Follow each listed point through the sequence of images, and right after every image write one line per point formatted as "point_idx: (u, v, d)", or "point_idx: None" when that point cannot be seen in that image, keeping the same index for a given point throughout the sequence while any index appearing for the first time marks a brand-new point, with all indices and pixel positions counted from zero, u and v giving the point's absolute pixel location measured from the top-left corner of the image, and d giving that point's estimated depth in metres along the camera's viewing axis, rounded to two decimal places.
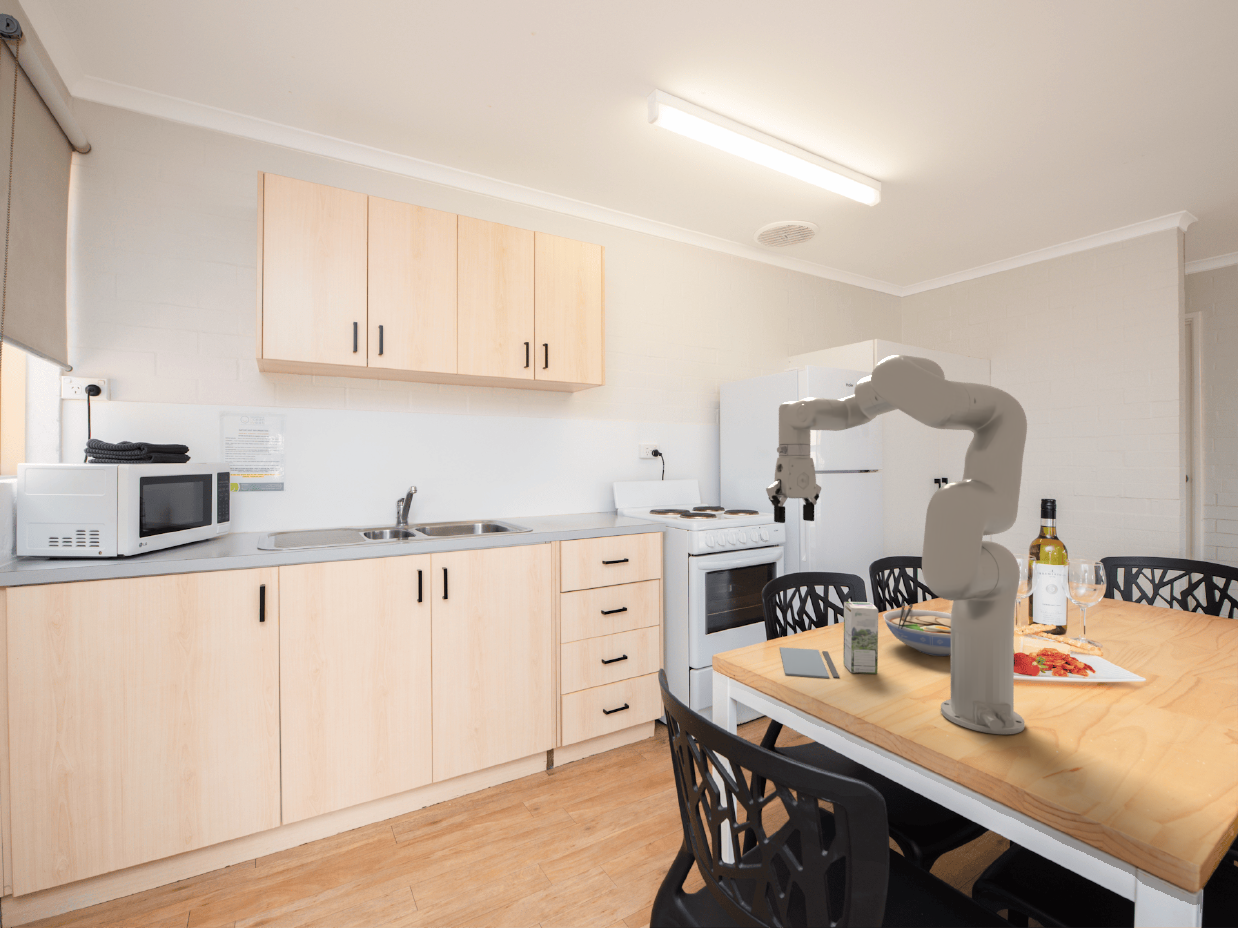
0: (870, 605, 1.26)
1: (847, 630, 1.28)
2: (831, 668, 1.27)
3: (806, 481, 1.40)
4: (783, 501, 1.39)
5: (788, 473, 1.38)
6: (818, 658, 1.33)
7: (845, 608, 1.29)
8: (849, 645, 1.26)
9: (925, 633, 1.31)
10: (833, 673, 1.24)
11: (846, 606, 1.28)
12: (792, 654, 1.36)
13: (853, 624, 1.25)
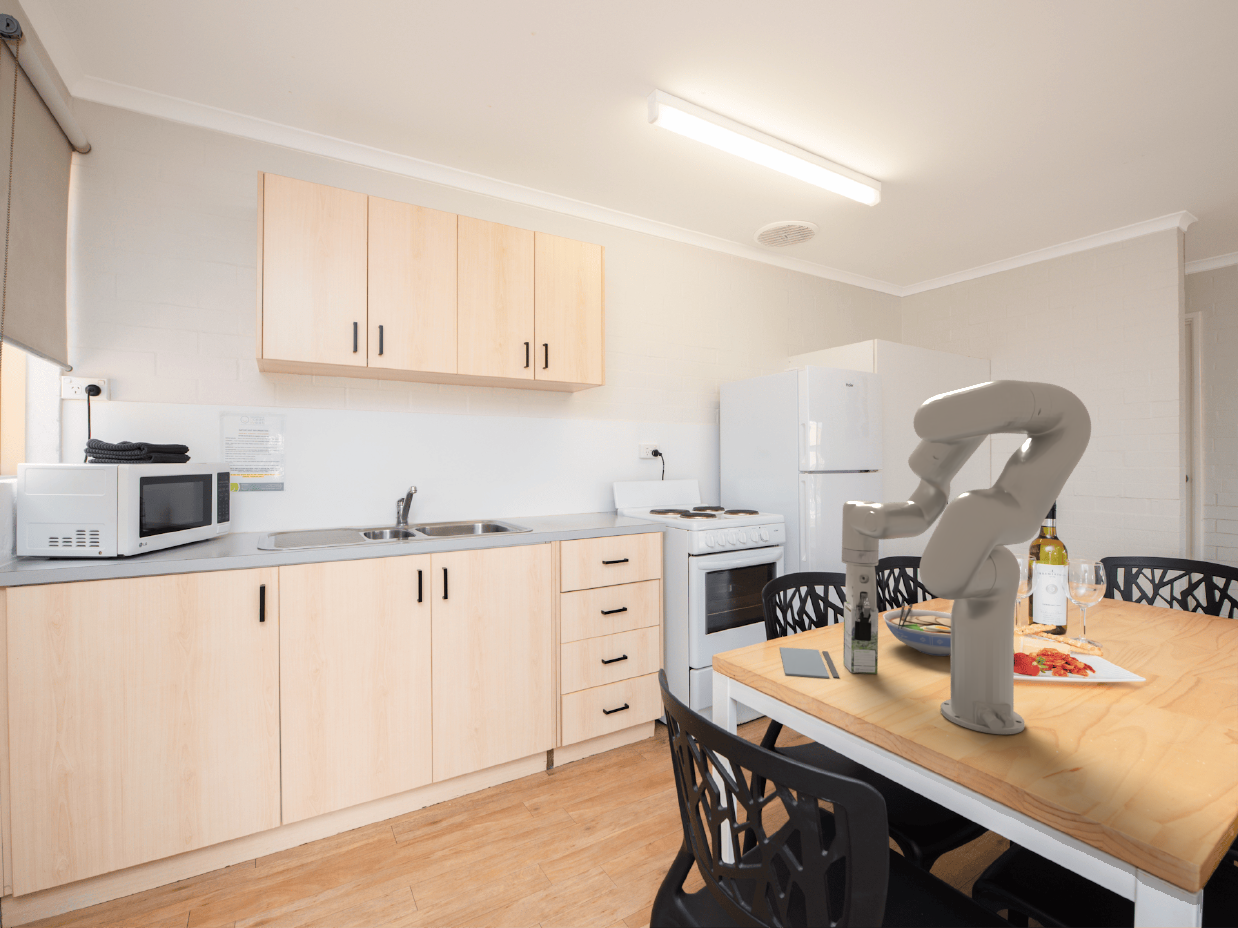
0: None
1: (847, 630, 1.28)
2: (831, 668, 1.27)
3: None
4: None
5: (875, 584, 1.23)
6: (818, 658, 1.33)
7: (845, 608, 1.29)
8: (849, 645, 1.26)
9: (925, 633, 1.31)
10: (833, 673, 1.24)
11: (846, 606, 1.28)
12: (792, 654, 1.36)
13: (853, 624, 1.25)
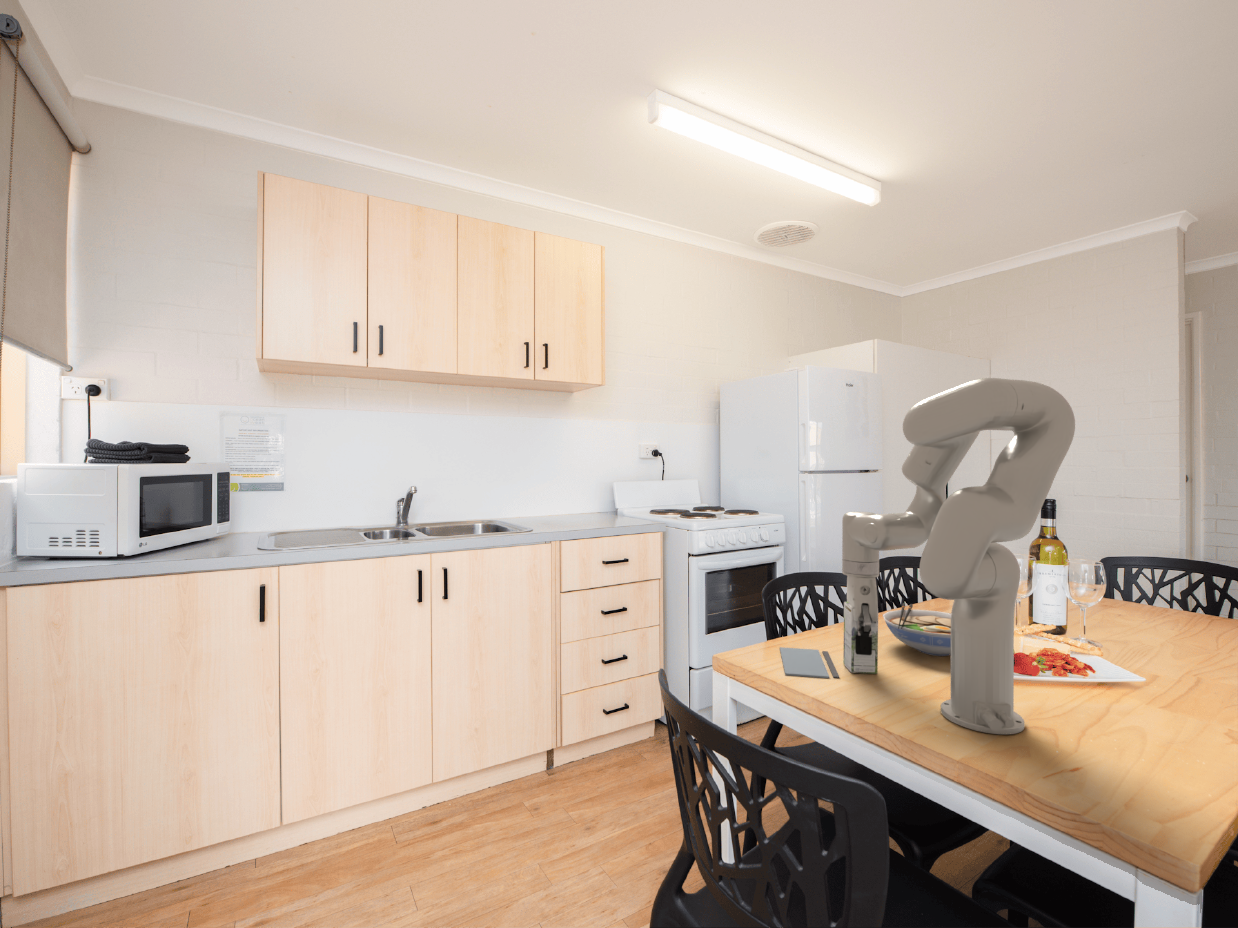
0: None
1: (847, 630, 1.28)
2: (831, 668, 1.27)
3: None
4: None
5: None
6: (818, 658, 1.33)
7: (845, 608, 1.29)
8: (849, 645, 1.26)
9: (925, 633, 1.31)
10: (833, 673, 1.24)
11: (846, 606, 1.28)
12: (792, 654, 1.36)
13: (853, 624, 1.25)
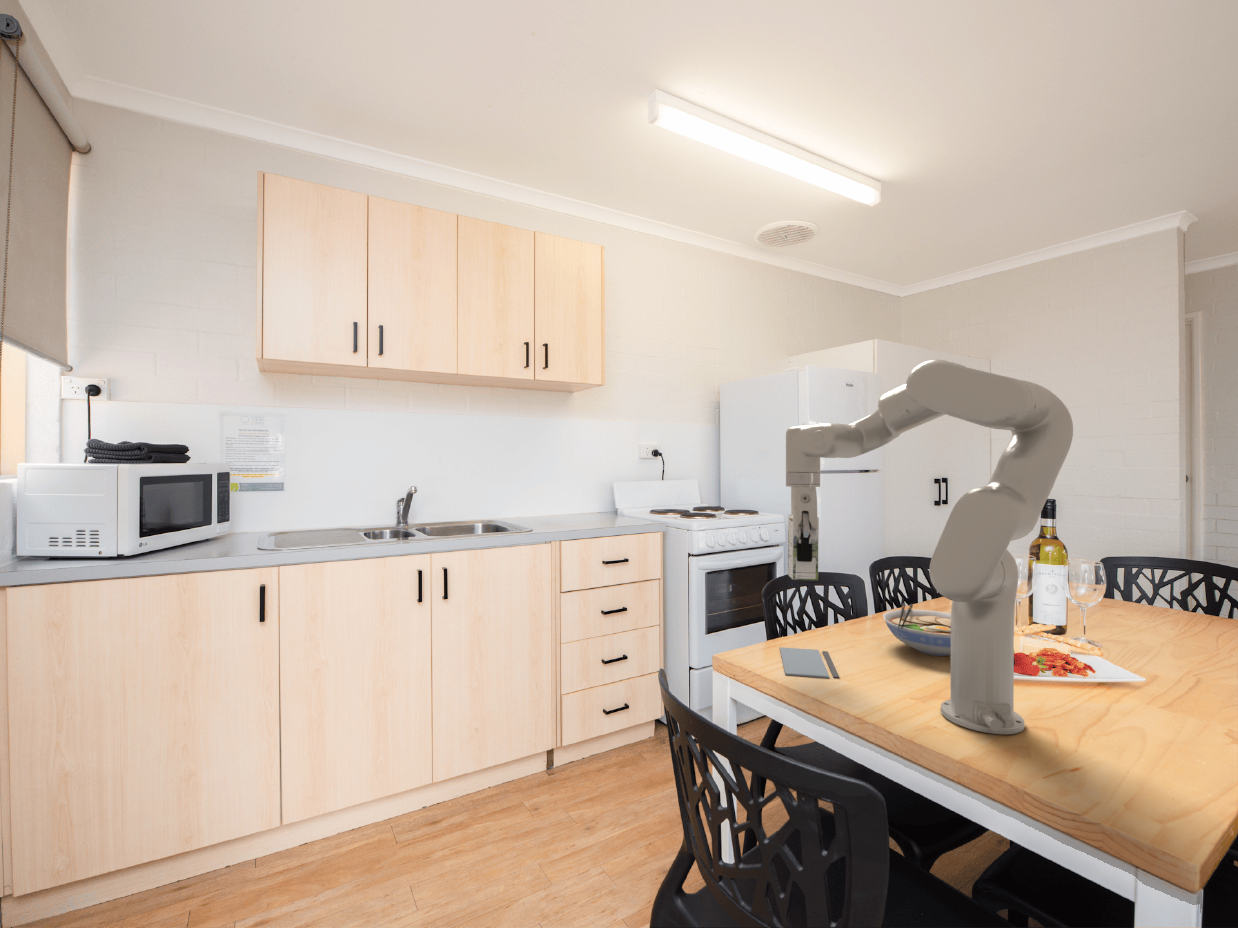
0: None
1: (790, 540, 1.32)
2: (831, 668, 1.27)
3: None
4: None
5: (816, 504, 1.27)
6: (818, 658, 1.33)
7: (789, 520, 1.34)
8: (791, 554, 1.31)
9: (925, 633, 1.31)
10: (833, 673, 1.24)
11: (789, 518, 1.33)
12: (792, 654, 1.36)
13: (795, 533, 1.29)
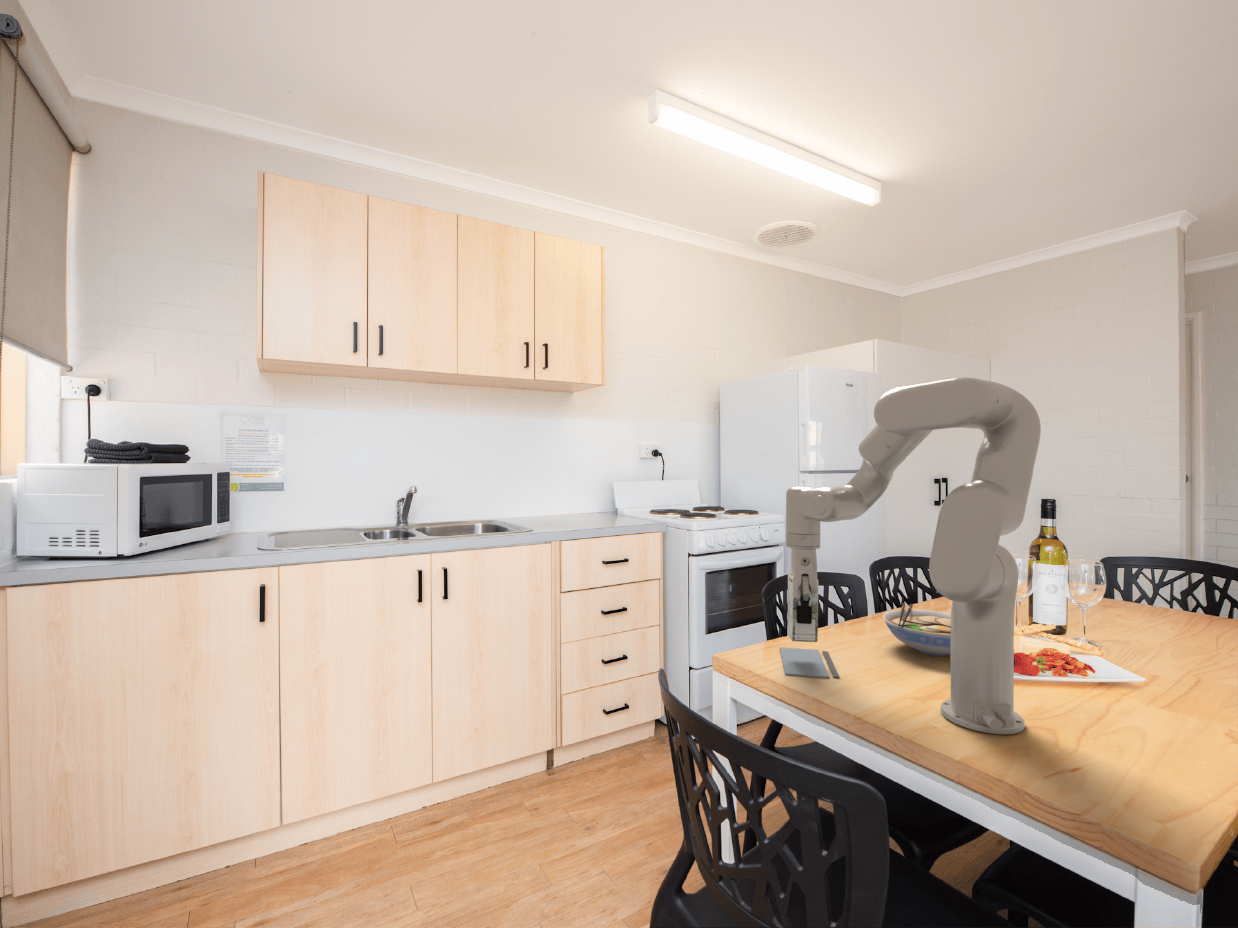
0: None
1: (790, 601, 1.32)
2: (831, 668, 1.27)
3: None
4: (810, 599, 1.28)
5: (816, 566, 1.27)
6: (818, 658, 1.33)
7: (788, 579, 1.34)
8: (791, 615, 1.31)
9: (925, 633, 1.31)
10: (833, 673, 1.24)
11: (789, 577, 1.33)
12: (792, 654, 1.36)
13: (794, 594, 1.29)
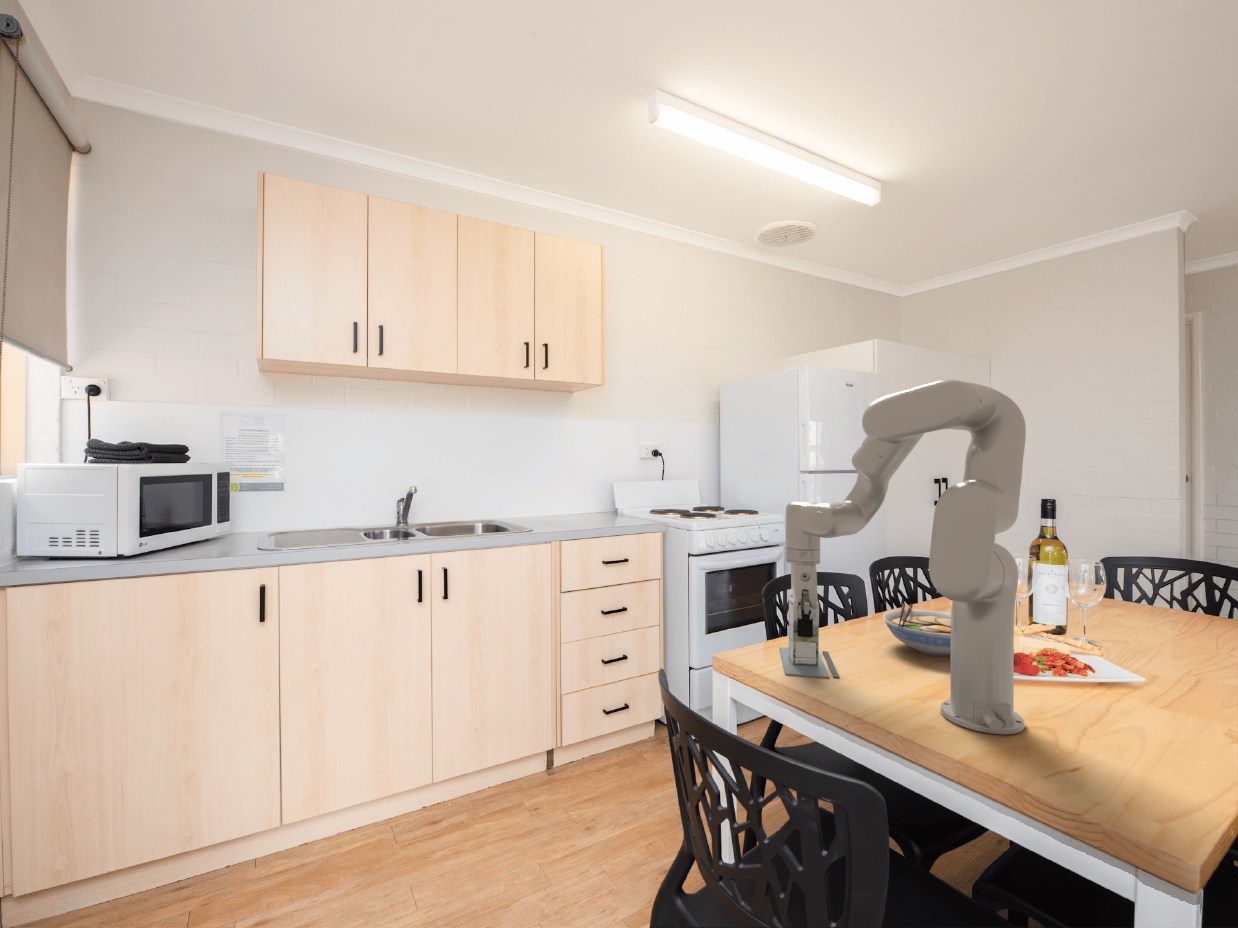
0: None
1: (790, 623, 1.32)
2: (831, 668, 1.27)
3: None
4: (811, 613, 1.27)
5: (816, 582, 1.27)
6: (818, 658, 1.33)
7: (789, 602, 1.33)
8: (791, 637, 1.30)
9: (925, 633, 1.31)
10: (833, 673, 1.24)
11: (790, 600, 1.33)
12: None
13: (795, 617, 1.29)
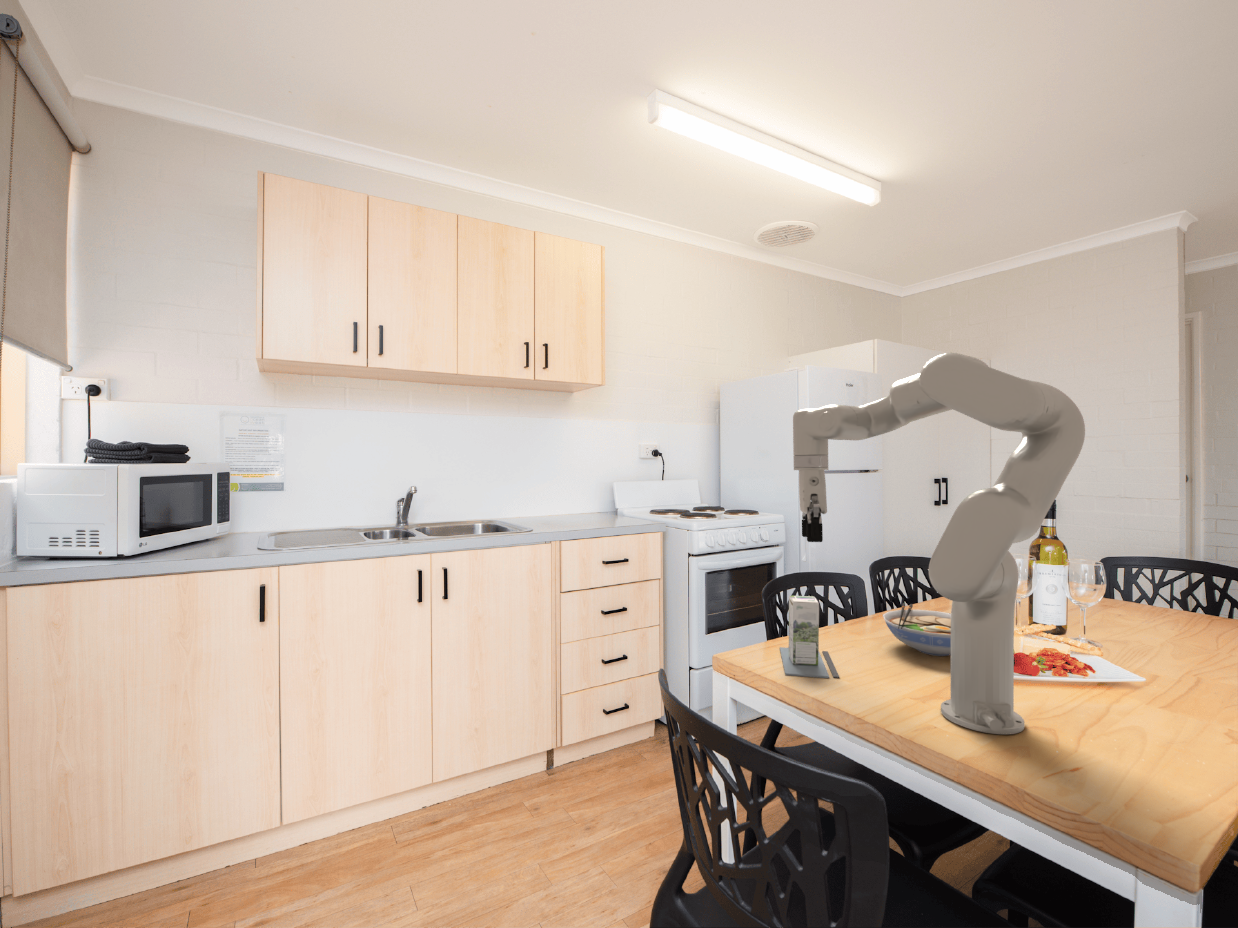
0: (812, 599, 1.30)
1: (790, 623, 1.32)
2: (831, 668, 1.27)
3: None
4: (820, 518, 1.26)
5: (825, 486, 1.26)
6: (818, 658, 1.33)
7: (789, 602, 1.33)
8: (791, 637, 1.30)
9: (925, 633, 1.31)
10: (833, 673, 1.24)
11: (790, 600, 1.33)
12: None
13: (795, 617, 1.29)
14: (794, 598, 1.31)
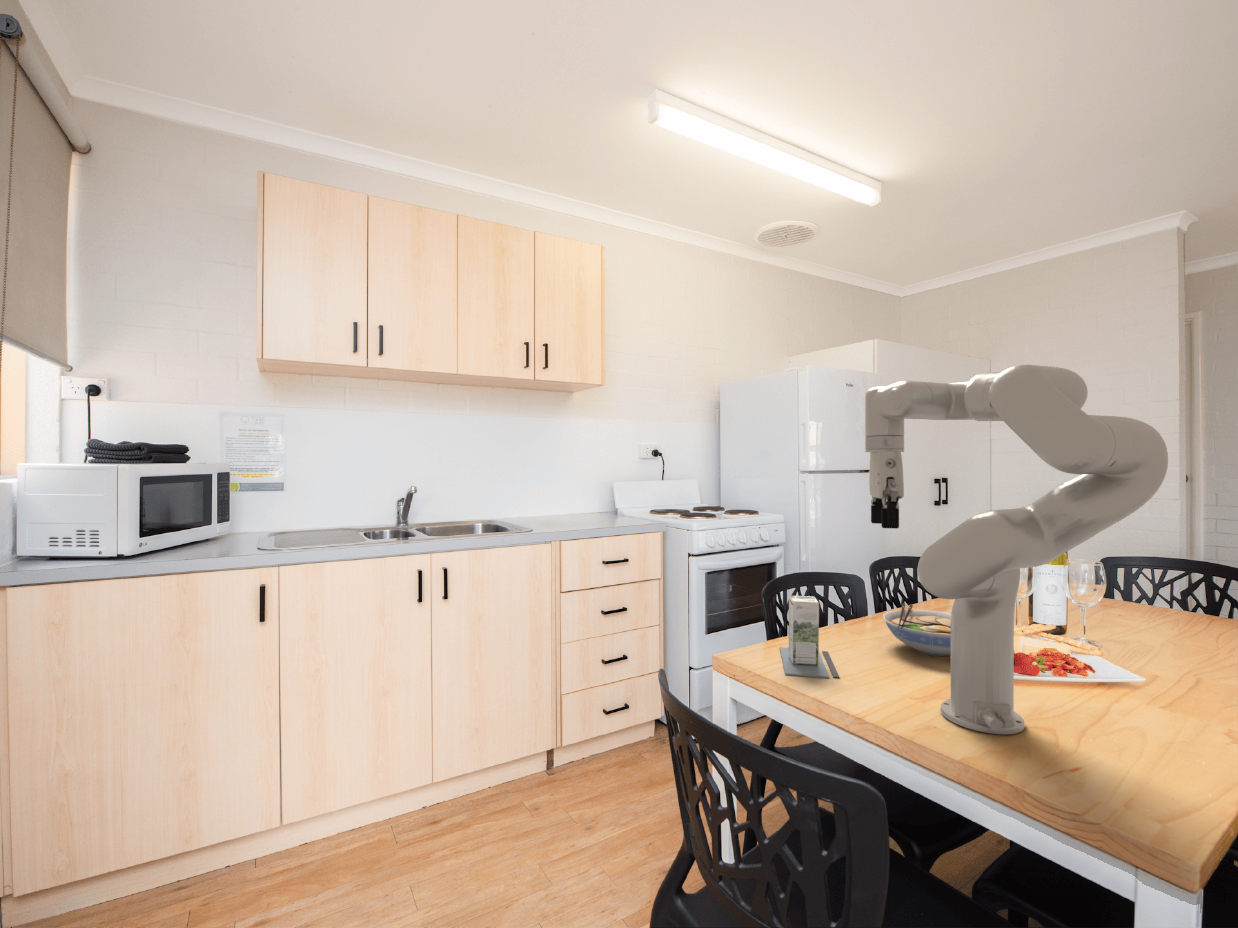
0: (812, 599, 1.30)
1: (790, 623, 1.32)
2: (831, 668, 1.27)
3: None
4: None
5: (902, 469, 1.18)
6: (818, 658, 1.33)
7: (789, 602, 1.33)
8: (791, 637, 1.30)
9: (925, 633, 1.31)
10: (833, 673, 1.24)
11: (790, 600, 1.33)
12: None
13: (795, 617, 1.29)
14: (794, 598, 1.31)
